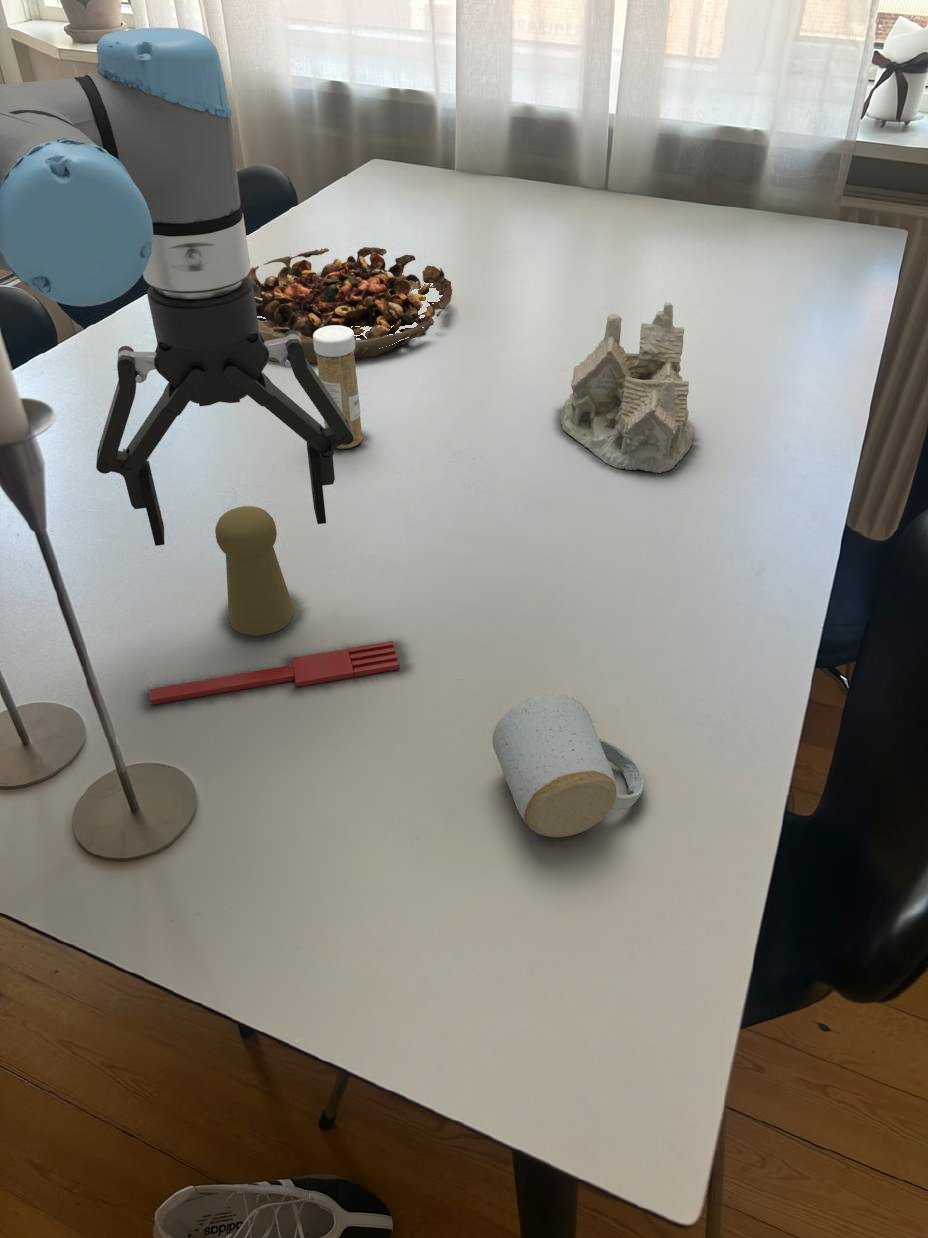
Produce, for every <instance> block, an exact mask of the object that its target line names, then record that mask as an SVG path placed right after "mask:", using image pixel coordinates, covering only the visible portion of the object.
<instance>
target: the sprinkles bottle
mask: <svg viewBox="0 0 928 1238" xmlns="http://www.w3.org/2000/svg"><path fill="white" fill-rule="evenodd" d="M313 344H314V350H315V353H316V356H317V363H316V364H317V372H318V374H317V376H318V377H319V379H320V380H321V382H322V383H323V385H324V386H325V388H326V389H327V391H328V392H329V393H330V395H331V396H332V398H333V399H334V401H335V402H336V404H337V405H338V407H339V408H340V410H341V411H342V413H343V414H344V416H345V417H346V419H347V420H348V422H349V425H350V428H351V431H352V434H353V437H354V438H353V442H352V443H351V444H349V445H343V444H342V445H340V446H338V447H336V448H335V449H341V450H344V449H351V448H354V447H356V446H358V445H360V444H361V443H362V442H363V439H364V433H363V431H362V421H361V405H360V396H359V395H360V394H359V386H358V385H359V384H358V376H357V368H356V358H355V356H354V351H355V337H354V332H353V330H352V329H350V328H348V327H345V326H340V325H332V326H326V327H322V328H320V329H318V330H316V331H315V332H314V334H313ZM323 420H324V419H323ZM328 427H329V425H328V424H327V423H326V421H325V420H324V428H328Z"/></svg>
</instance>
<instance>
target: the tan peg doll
mask: <svg viewBox="0 0 928 1238" xmlns="http://www.w3.org/2000/svg"><path fill="white" fill-rule="evenodd" d="M214 532H215V533H214V534H215V539H216V540H215V541H216V543H217V546H218V547H219V549H220V550H221V551H222V552H223V553H224V554H225V565H226V566H225V569H226V586H227V587H226V588H227V608H228V609H227V610H228V621H229V625H230V626H231V627H232V629H233V630H235V631H236V632H238V633H240V634H243V635H246V636H256V637H257V636H258V637H259V636H260V637H261V636H265V635H271V634H274V633H276V632H279V631H281V630H283V628H285V627H286V626H288V625H289V624H290V622H291V621H292V620H293V619H294V615H295V608H294V605H293V601H292V599H291V595H290V593H289V589H288V587H287V583H286V581H285V578H284V574H283V572H282V569H281V566H280V562H279V560H278V557H277V554H276V551H275V548H274V545H276V541H277V534H278V531H277V526H276V522H275V520H274V518H273V516H271V515H270V513H269V512H268V511H266V509H263V508H261V507H258V506H252V505H244V506H238V507H234V508H232V509H229V510H227V511H226V512H224V513H223V514H222V515H221V516H220V517H219V518H218V520H217V523H216V525H215V531H214Z"/></svg>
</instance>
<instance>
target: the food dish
mask: <svg viewBox="0 0 928 1238" xmlns="http://www.w3.org/2000/svg"><path fill="white" fill-rule="evenodd" d="M329 251H330V249H329V248H328V247H324V248H322V247H321V248H320V250H318V249H314V250H309V251H305V252H304V251H303V252H302V253H299V254H297V255H295V256H290V255H289V256H288V255H287V256H284V257H279V258H275V259H272V260H269V261H267V262H265V263H263V266H266V265H269V264H273V263H283V264H284V265H285V266H283V267H282V268H281V269H280V270H279V272H278V273H277V276H276V275H269V276H268V277H266V278H265V281H264V282H261V281H260V280H259V279H258V276H257V274H256V273H257V270H259V268H260V265H257V266H255V267H254V266H251V267H250V272H249V274H248V275H247V277H248V279H250V280H251V282H252V284H253V290H254V297H255V304H256V312H257V316H262V317H265V318H266V319H263V318H257V319H258V326H259V333H260V335H261V337H262V338H263V339H264V341H269V340H274V339H278V338H283V337H284V335H285V333H286V332H287V331H289V330H294V331H297V332H298V334H299V336H300V339H301V343H302V346H303V350H304V354H305V358H306V359H307V361H308V362H309V364H318V363H317V356H316V353H315V350H314V344H313V334H314V332H315V331H316V330H318V329H320V328H322V327H326V326H332V325H340V326H345V327H349V328H350V329H352V330H353V332H354V335H360V334H361V333H363V332H364V331H365V330H363V329H360V328H361V327H364V326H365V327H366V326H369V327H372V328H371V329H370V331H367V332H366V333H365V336H366V337H367V339H366V338H365V337H364V336H363V335H360V336H357V337H356V336H354V337H355V351H354V356H355V359H359V358H363V357H364V358H365V357H376V356H378V355H381V354H384V353H387V352H389V351H390V352H391V351H392V350H394V349H395V348H396V347H398V346H402V345H406V344H407V343H408V342H410V340H411V339H414V338H417V337H420V336H423V335H424V334H426V331H427V330H429V329H430V328H431V326H432V325H434V323H435V321H434V319H433V316H434V315H435V316H436V317H437V318H438V317H440V316H441V315H442V313H443V311H444V310H446V309H447V308H448V307H449V305H450V303H451V301H452V297H453V288H452V287H453V286H452V281H451V280H449V279H447V278H446V275H445V271H444V270H443V268H442V267H440V268H438V267H436V266H435V265H429V264H428V265H426V267H425V268H424V270H422V282H423V281H424V282H425V283H429V284H428V285H426V284H424V286H423V285H421V281H420V278H419V277H418V276H417V275H416V274H412V273H410V274H408V275H404V270H405V266H406V265H408V264H409V263H411V262H413V261H416V256H415V255H414V254H413V255H412V254H404V255H402V256H400V257H396V258H395V260H394V262H395V264H394V265H392V266H390V267H389V268H388V270H386V261H385V258H384V257H383V256H384V255H386V254H387V253H388V252H387V249H385V248H380V247H369V246H368V247H367V246H364V247H362V248H359V249H358V251H356V254H357V257H356V258H355V257H354V256H353V255H349V256H348V257H347V259H346V261H344V262H342V260H341V259H339V258H334V259H333V262H331V263H327V264H325V265H324V267H323V268H322V270H321V271H319V272H317V273H316V272H315V271H313V270H312V263H311V262H310V261H309V260H306V259H307V258H311V257H312V256H319V255H320V256H321V255H323V254H326V253H328V252H329ZM367 256H369V261H370V264H369V263H368V262H367V261H366V257H367ZM299 257H302V258H305V259H301V260H297V261H296V262H294V263H293V264H292V265H291V263H292V260H293V259H294V258H299ZM402 273H403V275H402ZM430 283H433V285H432V286H431V287H430V285H431V284H430ZM421 286H423V287H422V288H421ZM420 288H421V289H420ZM429 288H436V290H437V291H439V295H443V296H442V297H441V298H439V299H440V301H438V302H428V301H427V302H428V303H429V304H430V306H428V307H426V308H427V311H426V312H424V313H422V314H420V315H425V317H424V318H421V319H420V318H419V317H420V315H418V311H419V310H420V308H422V306H423V304H422V303H421V301H425V300H426V297H425V296H423V295H425V294H427V293H428V292H429ZM414 289H419V290H418V294H413V293H411V291H412V290H414ZM432 303H434V304H432ZM438 308H439V309H440V310H439V311H438V312H437V313H436V309H438ZM414 322H416V323H417V324H418V325H417V326H416V327H414V328H405V329H401V330H399V331H400V332H402V333H396V334H395V332H396V331H397V330H398V329H399V327H400V326H405V325H412V324H413V323H414ZM393 325H394V326H393ZM351 326H353V327H352V328H351ZM355 326H360V327H355ZM391 326H393V327H392V328H391ZM422 327H424V328H422ZM389 329H390V330H389ZM389 334H393V335H389ZM387 335H388V336H387ZM407 337H409V338H407ZM356 338H360V339H361V340H356ZM405 338H407V339H405ZM401 339H404V340H401ZM399 340H401V341H399ZM398 341H399V342H398ZM396 342H397V343H396ZM394 343H395V344H394ZM392 344H393V345H392ZM389 345H390V346H389ZM386 346H387V347H386ZM382 347H383V348H382ZM379 348H380V349H379ZM268 361H271V362H276V363H279V361H278V360H277V359H275V358H269V360H268Z"/></svg>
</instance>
